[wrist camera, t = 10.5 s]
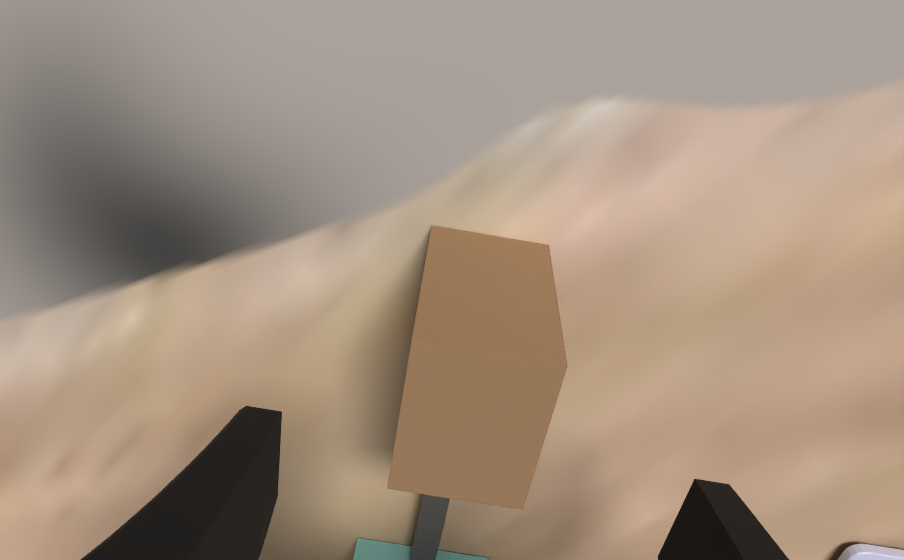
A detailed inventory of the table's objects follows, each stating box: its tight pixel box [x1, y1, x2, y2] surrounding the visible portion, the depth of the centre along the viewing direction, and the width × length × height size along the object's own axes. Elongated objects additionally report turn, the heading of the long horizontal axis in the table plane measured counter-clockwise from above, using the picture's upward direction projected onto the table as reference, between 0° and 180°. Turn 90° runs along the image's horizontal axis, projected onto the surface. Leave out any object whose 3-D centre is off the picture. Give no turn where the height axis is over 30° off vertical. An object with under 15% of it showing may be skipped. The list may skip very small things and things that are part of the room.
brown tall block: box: [353, 226, 567, 560], centre depth 20 cm, size 4×17×5 cm, turn 171°
